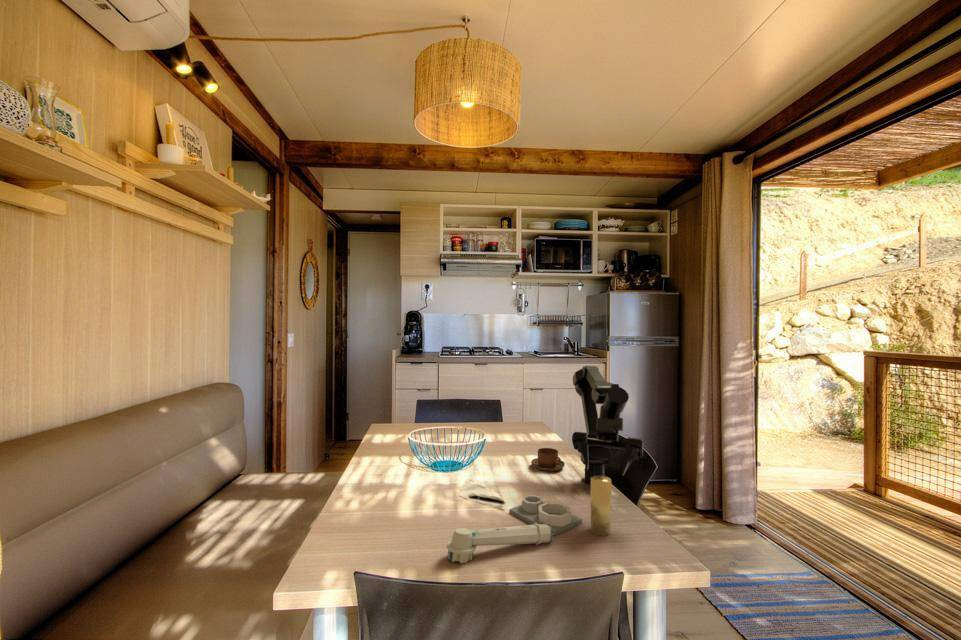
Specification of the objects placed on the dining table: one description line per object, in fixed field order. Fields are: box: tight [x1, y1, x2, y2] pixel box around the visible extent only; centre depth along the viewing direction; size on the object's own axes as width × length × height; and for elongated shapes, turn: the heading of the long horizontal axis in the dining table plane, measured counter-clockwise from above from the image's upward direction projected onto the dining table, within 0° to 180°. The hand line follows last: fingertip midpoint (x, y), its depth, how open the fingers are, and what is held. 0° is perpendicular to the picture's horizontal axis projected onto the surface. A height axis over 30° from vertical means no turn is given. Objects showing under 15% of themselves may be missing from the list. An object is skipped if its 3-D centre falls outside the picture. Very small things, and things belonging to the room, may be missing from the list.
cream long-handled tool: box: [446, 523, 554, 564], centre depth 98 cm, size 5×7×25 cm
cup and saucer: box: [530, 447, 565, 472], centre depth 155 cm, size 12×12×6 cm
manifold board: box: [508, 494, 583, 537], centre depth 114 cm, size 11×16×4 cm
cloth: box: [458, 478, 506, 511], centre depth 130 cm, size 26×14×2 cm, turn 13°
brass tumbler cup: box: [589, 475, 612, 537], centre depth 108 cm, size 5×5×13 cm
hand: (604, 472), depth 114 cm, fingers open, 9 cm apart
